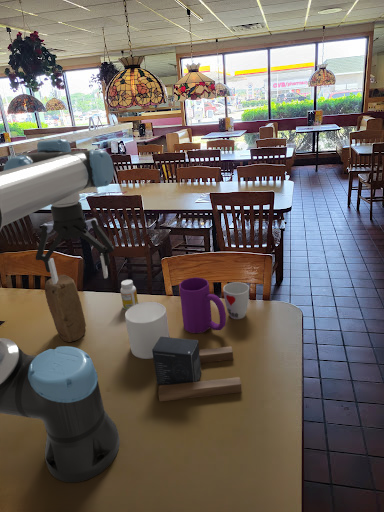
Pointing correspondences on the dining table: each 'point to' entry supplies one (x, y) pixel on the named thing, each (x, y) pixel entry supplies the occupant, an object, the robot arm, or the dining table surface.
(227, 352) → the parallel wooden rails
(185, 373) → the box
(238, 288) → the cup
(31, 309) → the dining table surface
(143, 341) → the cup
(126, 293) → the supplement bottle
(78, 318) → the block
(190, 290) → the mug
